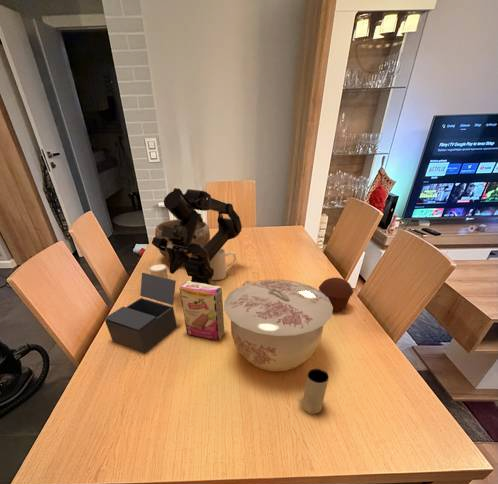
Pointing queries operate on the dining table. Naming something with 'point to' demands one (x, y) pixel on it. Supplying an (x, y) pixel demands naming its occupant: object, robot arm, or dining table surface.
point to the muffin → (337, 292)
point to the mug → (220, 264)
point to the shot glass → (159, 270)
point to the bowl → (200, 233)
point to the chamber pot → (277, 322)
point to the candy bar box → (203, 310)
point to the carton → (141, 324)
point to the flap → (157, 288)
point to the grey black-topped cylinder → (315, 390)
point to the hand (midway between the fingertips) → (171, 273)
